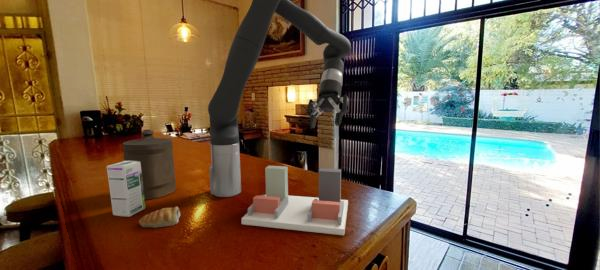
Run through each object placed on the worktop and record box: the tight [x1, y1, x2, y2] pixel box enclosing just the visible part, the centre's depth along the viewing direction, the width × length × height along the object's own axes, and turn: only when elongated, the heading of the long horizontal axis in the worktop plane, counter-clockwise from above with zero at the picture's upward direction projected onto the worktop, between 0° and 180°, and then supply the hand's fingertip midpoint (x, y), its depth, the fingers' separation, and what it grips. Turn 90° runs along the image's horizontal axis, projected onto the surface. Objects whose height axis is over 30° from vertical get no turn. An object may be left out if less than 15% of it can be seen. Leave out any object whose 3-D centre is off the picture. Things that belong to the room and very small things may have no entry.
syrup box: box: [106, 160, 147, 218], centre depth 73 cm, size 6×6×14 cm
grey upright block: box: [318, 167, 342, 203], centre depth 74 cm, size 6×3×10 cm, turn 77°
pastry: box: [138, 206, 181, 229], centre depth 67 cm, size 9×7×4 cm
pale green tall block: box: [264, 165, 289, 202], centre depth 77 cm, size 6×3×10 cm, turn 77°
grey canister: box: [122, 129, 177, 201], centre depth 88 cm, size 15×15×22 cm
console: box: [241, 194, 349, 236], centre depth 71 cm, size 26×18×6 cm
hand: (324, 125), depth 83 cm, fingers open, 8 cm apart
